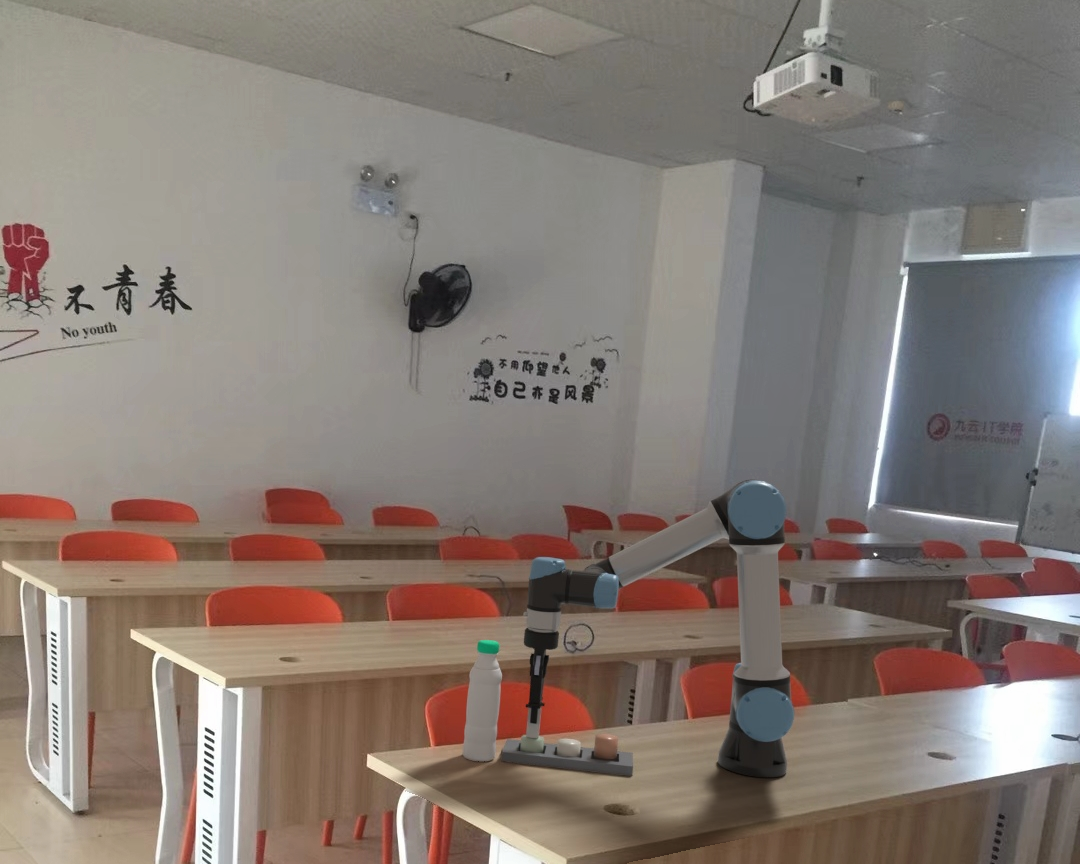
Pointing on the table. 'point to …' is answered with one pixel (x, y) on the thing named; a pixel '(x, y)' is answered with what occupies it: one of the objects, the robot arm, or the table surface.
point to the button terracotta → (606, 746)
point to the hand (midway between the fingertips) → (532, 736)
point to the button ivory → (568, 748)
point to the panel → (568, 759)
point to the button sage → (532, 744)
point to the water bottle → (483, 704)
